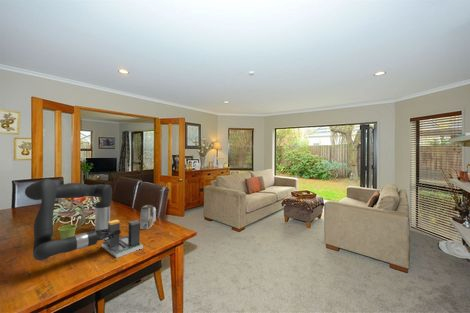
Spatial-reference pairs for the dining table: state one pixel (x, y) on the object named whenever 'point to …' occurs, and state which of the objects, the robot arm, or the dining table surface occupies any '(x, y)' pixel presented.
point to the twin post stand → (126, 241)
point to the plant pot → (67, 231)
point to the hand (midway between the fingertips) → (118, 230)
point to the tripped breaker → (113, 227)
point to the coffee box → (146, 217)
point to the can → (154, 214)
